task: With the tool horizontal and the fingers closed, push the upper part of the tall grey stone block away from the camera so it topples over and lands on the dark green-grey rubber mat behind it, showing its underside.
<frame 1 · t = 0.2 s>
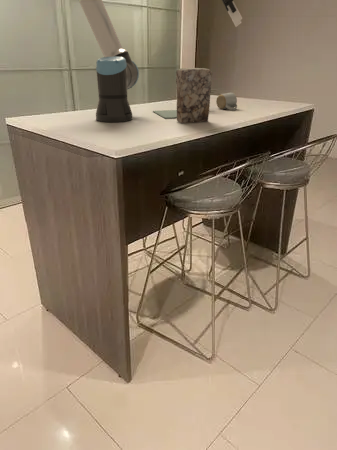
hand: (239, 23, 130), 36 cm above the table, tool tilted 35°, fingers open, 13 cm apart
ceramic mug: (227, 109, 174), on the table
coffee box: (193, 108, 175), on the table
stone block: (192, 122, 140), on the table
rubber mat: (177, 114, 156), on the table
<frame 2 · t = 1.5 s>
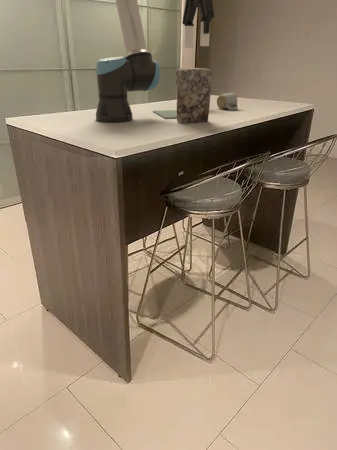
hand: (196, 47, 112), 27 cm above the table, tool pointing down, fingers open, 13 cm apart
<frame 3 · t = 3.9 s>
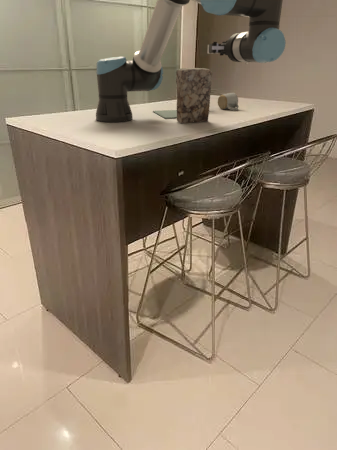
hand: (209, 49, 116), 26 cm above the table, tool horizontal, fingers closed
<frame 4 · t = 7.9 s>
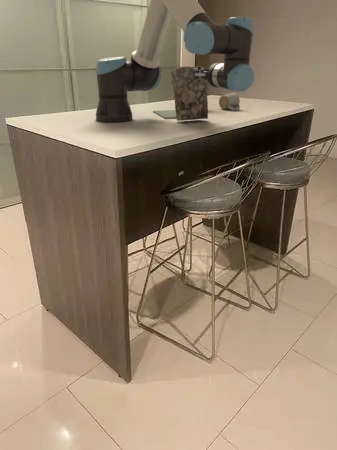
hand: (195, 72, 132), 19 cm above the table, tool horizontal, fingers closed
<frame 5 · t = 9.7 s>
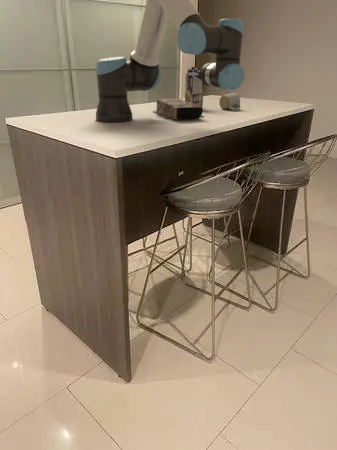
hand: (189, 71, 136), 18 cm above the table, tool horizontal, fingers closed
stone block: (189, 113, 140), point 3 cm above the table, touching rubber mat
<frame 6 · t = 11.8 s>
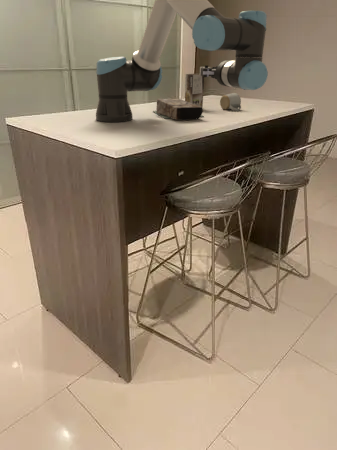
hand: (201, 70, 126), 19 cm above the table, tool horizontal, fingers closed
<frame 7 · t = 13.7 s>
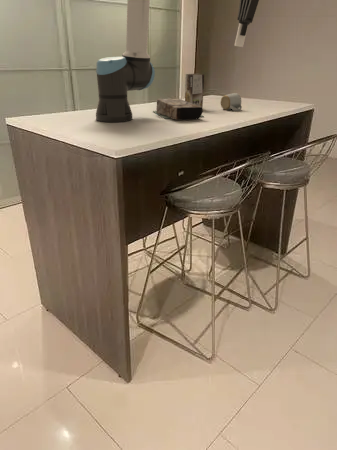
hand: (238, 46, 114), 27 cm above the table, tool pointing down, fingers closed
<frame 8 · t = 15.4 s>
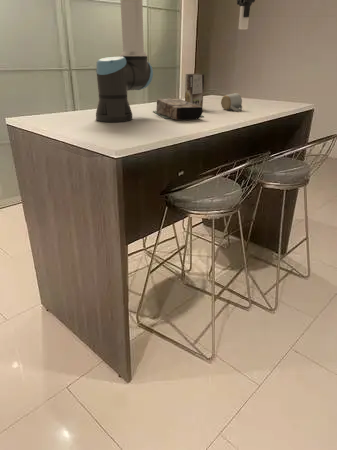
hand: (243, 29, 113), 32 cm above the table, tool pointing down, fingers closed
at the end: stone block tilted 88°; stone block inside the target area (15.4 cm from its centre), point 2.8 cm above the table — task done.
